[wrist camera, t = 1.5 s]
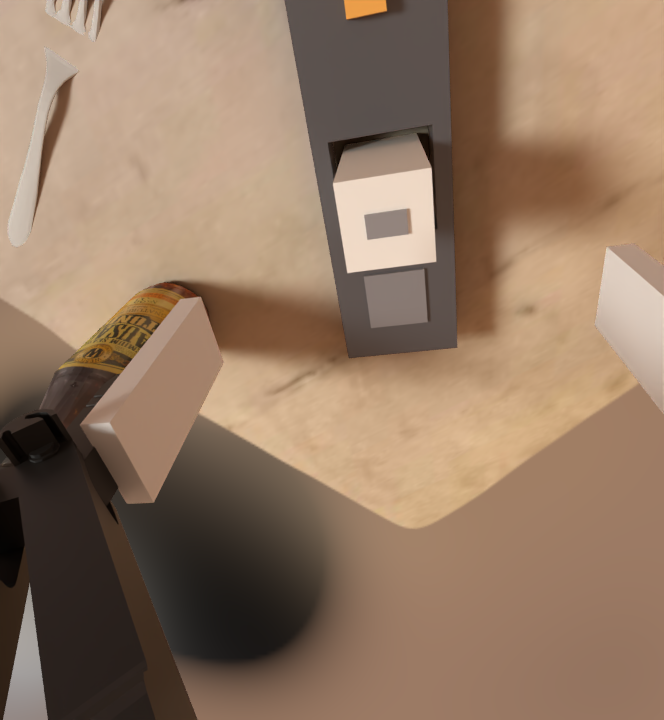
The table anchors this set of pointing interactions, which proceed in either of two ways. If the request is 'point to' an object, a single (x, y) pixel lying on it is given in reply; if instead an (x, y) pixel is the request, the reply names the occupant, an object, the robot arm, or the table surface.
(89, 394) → the sauce bottle
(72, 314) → the table surface
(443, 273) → the power strip
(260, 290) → the table surface
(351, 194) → the block
